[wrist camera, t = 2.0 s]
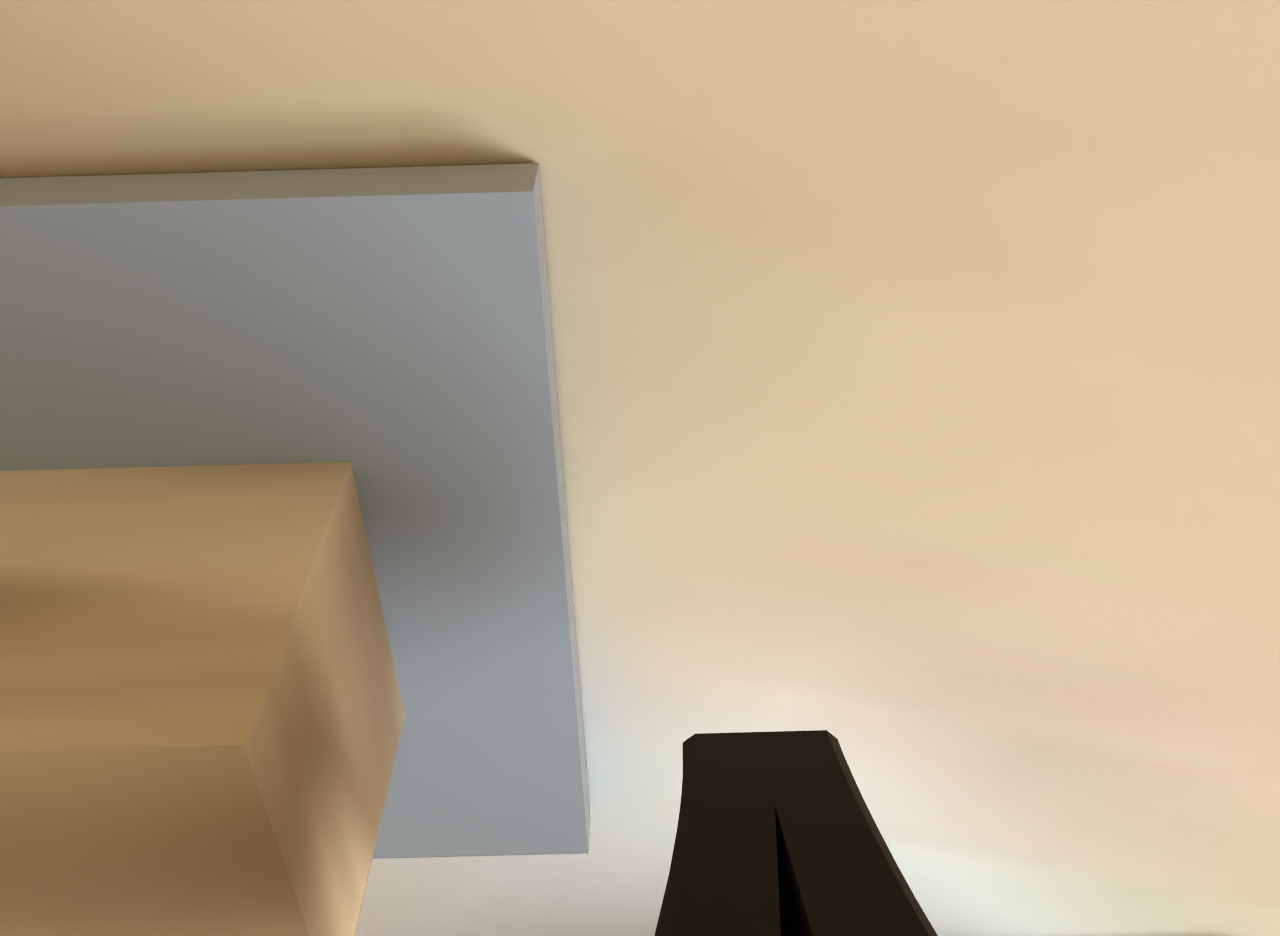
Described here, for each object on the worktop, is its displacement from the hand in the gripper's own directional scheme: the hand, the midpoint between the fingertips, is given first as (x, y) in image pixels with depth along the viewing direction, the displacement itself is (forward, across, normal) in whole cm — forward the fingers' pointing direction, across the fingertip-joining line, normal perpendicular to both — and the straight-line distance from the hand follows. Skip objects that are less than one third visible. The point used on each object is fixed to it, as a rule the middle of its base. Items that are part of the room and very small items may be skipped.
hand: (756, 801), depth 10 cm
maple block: (+3, +6, 0) cm, 7 cm away
